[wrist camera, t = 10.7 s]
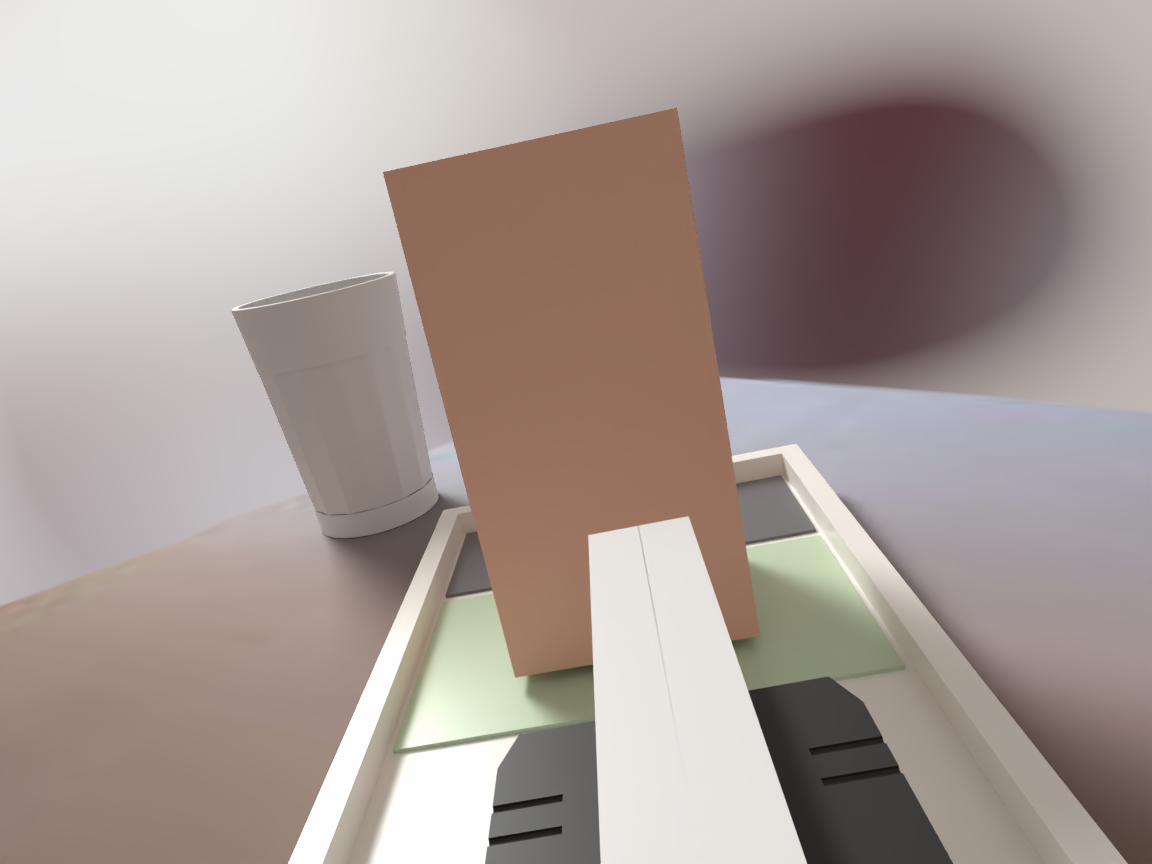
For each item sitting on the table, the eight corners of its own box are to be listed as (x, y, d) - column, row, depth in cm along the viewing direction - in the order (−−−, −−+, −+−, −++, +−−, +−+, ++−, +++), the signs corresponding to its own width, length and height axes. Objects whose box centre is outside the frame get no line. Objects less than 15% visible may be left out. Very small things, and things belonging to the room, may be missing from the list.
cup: (284, 525, 45) (212, 310, 41) (413, 472, 49) (357, 274, 45) (338, 560, 38) (258, 309, 35) (480, 496, 43) (422, 268, 39)
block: (515, 677, 23) (383, 172, 19) (529, 578, 29) (430, 173, 25) (760, 635, 23) (676, 107, 19) (725, 544, 28) (655, 124, 24)
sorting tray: (-233, 2457, 6) (-379, 2388, 5) (454, 550, 36) (443, 509, 36) (2160, 2433, 5) (2299, 2347, 4) (801, 486, 35) (796, 443, 35)
